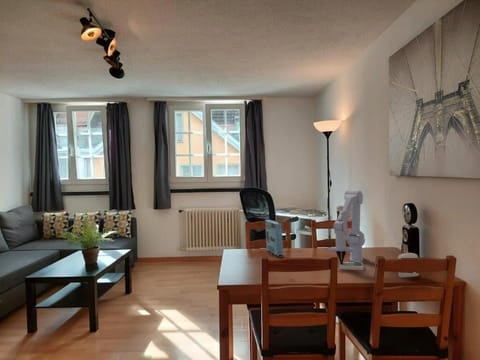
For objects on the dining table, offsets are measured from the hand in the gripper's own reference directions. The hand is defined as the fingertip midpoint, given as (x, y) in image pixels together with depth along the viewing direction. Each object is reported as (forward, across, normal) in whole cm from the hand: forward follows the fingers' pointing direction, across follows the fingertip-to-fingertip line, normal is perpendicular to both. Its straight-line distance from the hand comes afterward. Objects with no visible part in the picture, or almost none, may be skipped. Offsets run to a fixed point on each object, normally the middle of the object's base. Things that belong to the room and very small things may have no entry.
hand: (341, 263), depth 200 cm
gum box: (+2, -46, +28) cm, 54 cm away
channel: (+2, +6, 0) cm, 6 cm away
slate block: (+2, +9, 0) cm, 9 cm away
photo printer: (+2, +34, -12) cm, 36 cm away
